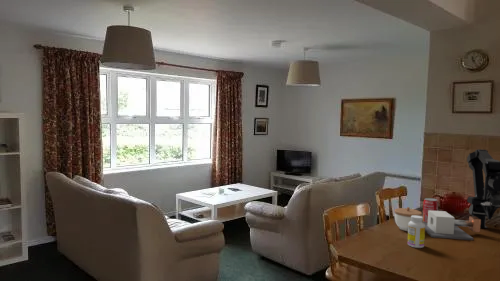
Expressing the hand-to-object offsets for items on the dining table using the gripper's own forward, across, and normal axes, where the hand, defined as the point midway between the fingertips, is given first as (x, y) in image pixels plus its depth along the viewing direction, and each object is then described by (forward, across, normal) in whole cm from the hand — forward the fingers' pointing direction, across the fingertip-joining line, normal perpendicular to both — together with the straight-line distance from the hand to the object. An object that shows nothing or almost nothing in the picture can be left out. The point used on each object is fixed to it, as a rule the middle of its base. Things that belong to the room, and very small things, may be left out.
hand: (489, 219), depth 175 cm
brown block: (+6, -12, 0) cm, 13 cm away
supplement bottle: (+8, -40, -24) cm, 47 cm away
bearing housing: (+8, -20, 0) cm, 21 cm away
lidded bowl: (+8, -37, +1) cm, 38 cm away
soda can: (+8, -22, +15) cm, 28 cm away
